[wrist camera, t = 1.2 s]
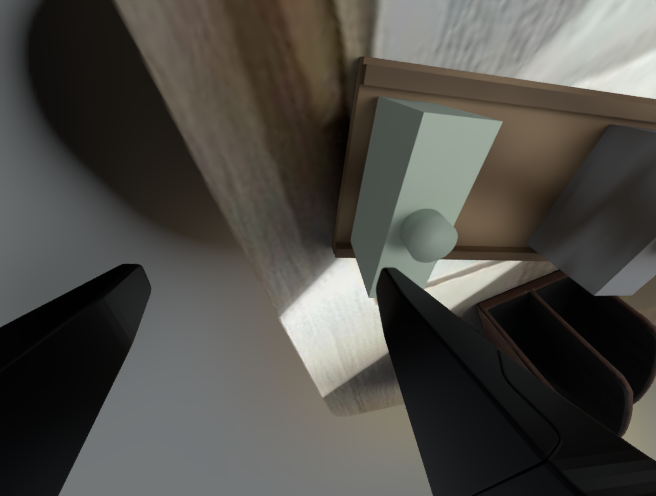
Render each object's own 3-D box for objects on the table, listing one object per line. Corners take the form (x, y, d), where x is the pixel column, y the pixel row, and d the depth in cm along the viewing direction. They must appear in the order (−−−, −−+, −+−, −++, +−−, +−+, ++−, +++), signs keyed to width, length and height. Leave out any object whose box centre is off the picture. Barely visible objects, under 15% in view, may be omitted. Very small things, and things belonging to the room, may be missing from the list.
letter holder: (494, 372, 38) (580, 503, 26) (473, 302, 26) (606, 477, 15) (564, 348, 35) (691, 480, 24) (573, 261, 24) (816, 430, 13)
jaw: (389, 241, 18) (428, 314, 13) (350, 240, 18) (374, 315, 12) (432, 102, 13) (529, 128, 8) (378, 95, 13) (441, 118, 7)
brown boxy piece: (545, 251, 23) (644, 324, 16) (332, 246, 20) (350, 333, 13) (663, 101, 16) (917, 126, 9) (359, 57, 13) (427, 48, 6)
